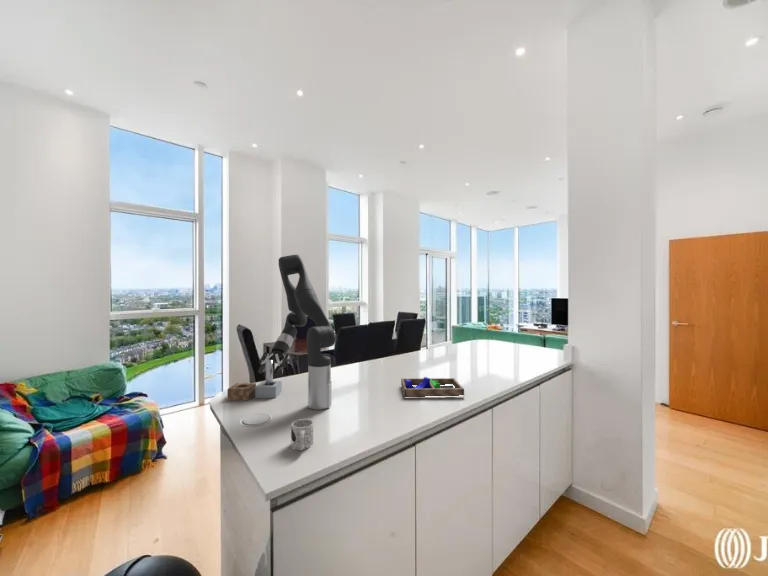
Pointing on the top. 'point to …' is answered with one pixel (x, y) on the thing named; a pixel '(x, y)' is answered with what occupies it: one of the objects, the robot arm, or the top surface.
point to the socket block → (268, 390)
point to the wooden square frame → (241, 391)
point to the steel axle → (269, 372)
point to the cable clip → (423, 385)
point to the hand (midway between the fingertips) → (267, 373)
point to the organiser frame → (432, 388)
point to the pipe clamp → (435, 384)
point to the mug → (301, 434)
